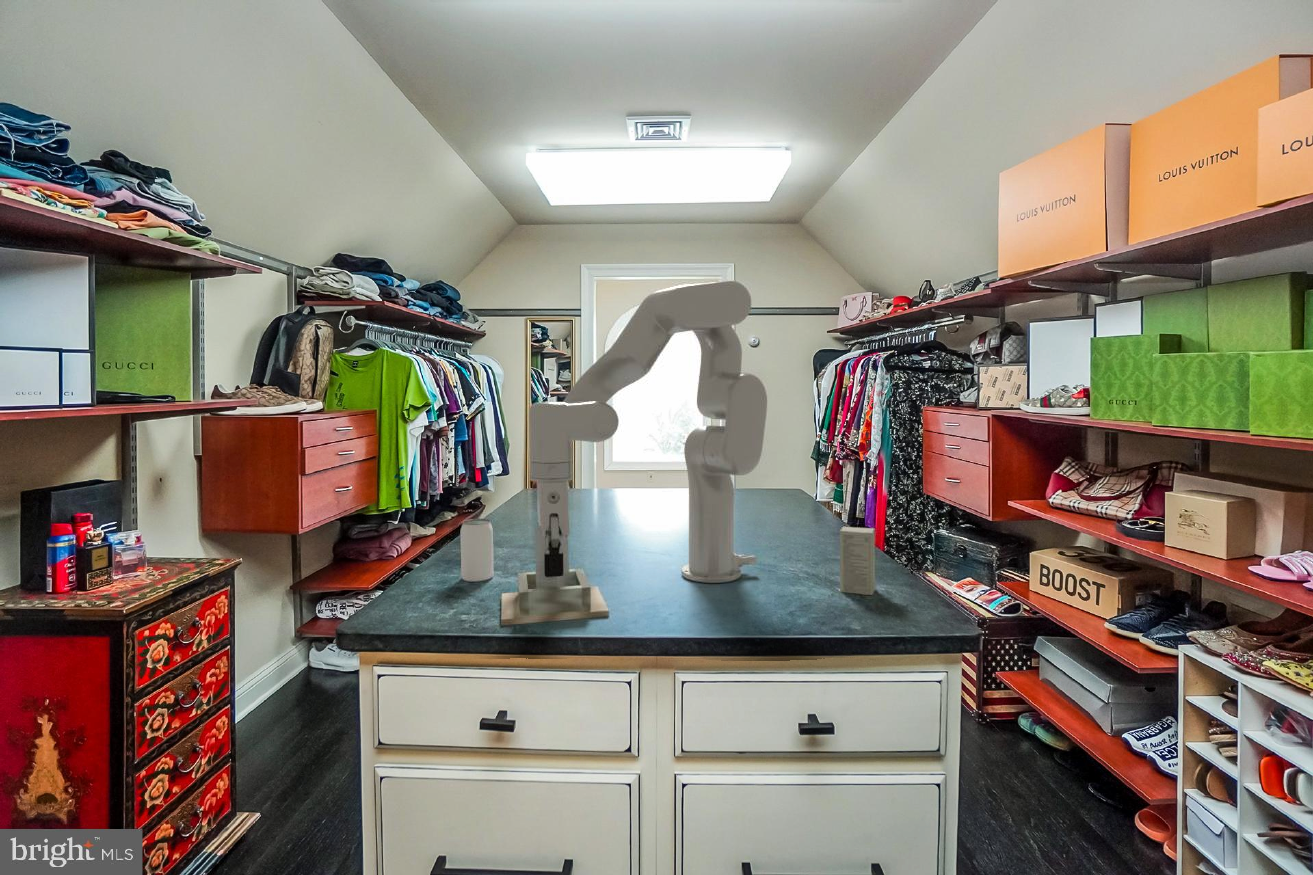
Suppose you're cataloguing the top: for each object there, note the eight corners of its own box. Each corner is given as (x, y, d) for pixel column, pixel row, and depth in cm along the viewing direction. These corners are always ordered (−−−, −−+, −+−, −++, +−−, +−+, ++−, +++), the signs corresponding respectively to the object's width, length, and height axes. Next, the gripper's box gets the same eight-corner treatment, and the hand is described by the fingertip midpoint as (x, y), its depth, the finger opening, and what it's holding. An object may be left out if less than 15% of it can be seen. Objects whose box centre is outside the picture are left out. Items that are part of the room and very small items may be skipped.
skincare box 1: (547, 584, 114) (547, 520, 114) (569, 585, 114) (569, 521, 113) (534, 594, 109) (533, 527, 108) (557, 596, 108) (557, 528, 107)
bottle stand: (597, 591, 120) (597, 566, 120) (608, 615, 107) (608, 587, 106) (501, 598, 116) (501, 572, 116) (501, 625, 102) (500, 595, 102)
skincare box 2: (875, 589, 121) (876, 528, 120) (872, 596, 117) (874, 532, 116) (841, 585, 123) (842, 525, 123) (838, 592, 119) (839, 529, 119)
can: (484, 583, 126) (483, 525, 125) (455, 581, 127) (454, 523, 126) (499, 574, 132) (497, 518, 131) (471, 572, 133) (469, 517, 132)
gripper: (578, 476, 102) (578, 582, 103) (567, 465, 119) (568, 556, 120) (531, 478, 100) (533, 585, 102) (528, 466, 117) (529, 559, 118)
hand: (552, 569), depth 111 cm, fingers closed on skincare box 1, 7 cm apart
